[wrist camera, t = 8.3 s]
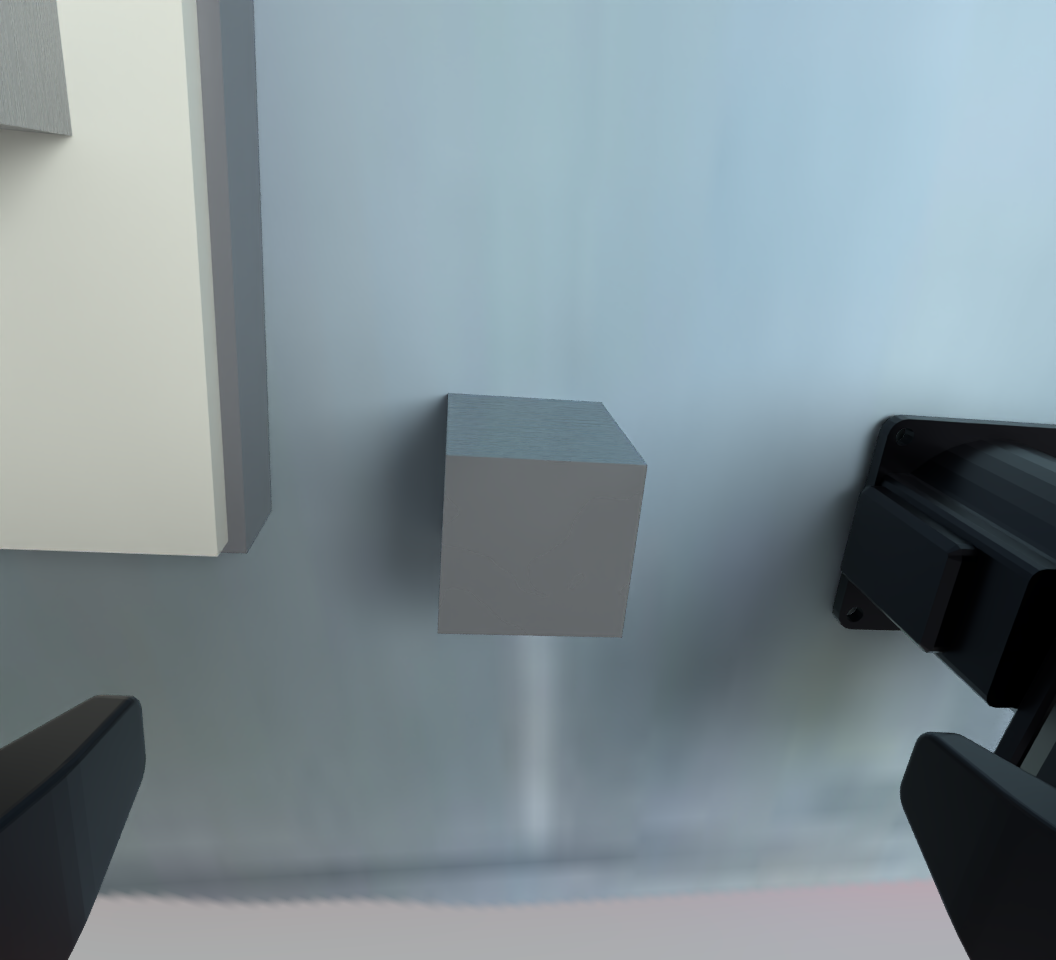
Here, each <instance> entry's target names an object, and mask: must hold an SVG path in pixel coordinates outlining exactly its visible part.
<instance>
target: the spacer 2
mask: <svg viewBox="0 0 1056 960" xmlns="http://www.w3.org/2000/svg"><path fill="white" fill-rule="evenodd" d="M646 471H647V464H646V463H645V461H644V460H643V459H642V457H641V456H640V454H639V453H638V452H637V450H636V449H635V448H634V446H633V445H632V444H631V442H630V441H629V439H628V438H627V437H626V435H625V434H624V433H623V431H622V430H621V429H620V427H619V426H618V424H617V423H616V422H615V420H614V419H613V418H612V416H611V415H610V414H609V412H608V411H607V409H606V408H605V407H604V405H603V404H602V403H601V402H589V401H572V400H555V399H538V398H521V397H504V396H487V395H470V394H453V393H448V413H447V434H446V455H445V476H444V498H443V519H442V541H441V565H440V589H439V613H438V633H441V634H487V635H533V636H580V637H622V632H623V626H624V619H625V612H626V605H627V599H628V592H629V585H630V579H631V572H632V565H633V558H634V552H635V545H636V538H637V532H638V525H639V518H640V511H641V505H642V498H643V491H644V485H645V478H646Z"/></svg>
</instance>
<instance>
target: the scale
mask: <svg viewBox="0 0 1056 960" xmlns="http://www.w3.org/2000/svg"><path fill="white" fill-rule="evenodd" d="M56 2H57V10H58V19H59V27H60V36H61V44H62V52H63V61H64V69H65V78H66V86H67V95H68V103H69V112H70V120H71V128H72V136H67V135H57V134H46V133H36V132H26V131H15V130H5V129H0V549H19V550H47V551H75V552H103V553H131V554H158V555H186V556H214V557H218V555H219V554H220V552H224V553H247V552H248V550H249V549H250V547H251V545H252V544H253V542H254V540H255V538H256V537H257V535H258V533H259V532H260V530H261V528H262V527H263V525H264V523H265V522H266V520H267V518H268V516H269V515H270V513H271V511H272V508H271V480H270V452H269V424H268V396H267V369H266V341H265V313H264V285H263V257H262V229H261V201H260V173H259V145H258V117H257V89H256V62H255V34H254V6H253V0H56Z"/></svg>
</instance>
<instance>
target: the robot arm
mask: <svg viewBox="0 0 1056 960" xmlns="http://www.w3.org/2000/svg"><path fill="white" fill-rule="evenodd" d="M903 428H905V435H904V436H903V438H902V439H900V440H899V441H896V435H897V433H898V432H899V431H900V430H901V429H903ZM841 571H842V574H841V578H840V582H839V585H838V589H837V593H836V597H835V601H834V604H833V612H832V613H833V615H834V617H835V618H836V620H837V621H838V622H839V623H840V624H841V625H842V626H844V627H845V628H848V629H864V630H901V631H903V632H904V633H905V634H906V635H907V636H908V637H909V638H910V639H911V640H912V641H913V642H914V643H915V644H916V645H917V646H918V647H919V648H920V649H922V650H923V651H925V652H926V653H934V654H935V655H936V656H937V657H938V658H939V659H940V660H941V661H942V662H943V663H944V664H945V665H946V666H947V667H949V668H950V669H951V670H952V671H953V672H954V673H955V674H956V675H957V676H958V677H959V678H960V679H961V680H962V681H963V682H965V683H966V684H967V685H968V686H969V687H970V688H971V689H972V690H973V691H974V692H975V693H976V694H977V695H978V696H979V697H980V698H982V699H983V700H984V701H985V702H986V703H987V704H988V705H989V706H991V707H995V708H1010V709H1011V710H1012V711H1013V712H1014V713H1015V714H1014V716H1013V718H1012V720H1011V721H1010V723H1009V725H1008V727H1007V729H1006V731H1005V733H1004V734H1003V736H1002V738H1001V740H1000V742H999V744H998V746H997V748H996V749H995V751H994V753H992V752H990V751H989V750H987V749H985V748H983V747H982V746H980V745H978V744H976V743H974V742H973V741H971V740H969V739H967V738H965V737H964V736H962V735H959V734H955V733H942V732H926V733H923V734H922V735H921V736H920V737H919V738H918V739H917V741H916V743H915V746H914V749H913V751H912V754H911V757H910V760H909V762H908V765H907V768H906V771H905V774H904V776H903V779H902V782H901V786H900V798H901V803H902V807H903V810H904V812H905V814H906V817H907V819H908V821H909V824H910V826H911V828H912V831H913V833H914V835H915V838H916V840H917V842H918V845H919V847H920V849H921V852H922V854H923V856H924V859H925V861H926V864H927V866H928V868H929V871H930V873H931V875H932V878H933V880H934V882H935V885H936V887H937V889H938V892H939V894H940V896H941V899H942V901H943V903H944V906H945V908H946V910H947V913H948V915H949V917H950V919H951V922H952V924H953V926H954V928H955V930H956V932H957V935H958V937H959V939H960V941H961V943H962V945H963V947H964V949H965V951H966V952H967V955H968V957H969V958H970V960H1056V425H1049V424H1034V423H1018V422H1003V421H987V420H972V419H956V418H941V417H926V416H910V415H897V416H893V417H891V418H889V419H888V420H887V421H886V422H885V423H884V424H883V425H882V427H881V429H880V431H879V435H878V439H877V443H876V446H875V450H874V454H873V458H872V461H871V465H870V469H869V473H868V476H867V480H866V484H865V488H864V490H863V491H862V492H861V493H860V496H859V500H858V504H857V507H856V511H855V515H854V519H853V522H852V526H851V530H850V534H849V538H848V541H847V545H846V549H845V553H844V557H843V560H842V564H841ZM854 607H857V608H856V610H855V611H854V612H853V613H852V614H849V615H847V613H848V612H849V610H851V609H852V608H854ZM145 762H146V754H145V742H144V731H143V719H142V708H141V705H140V702H139V700H138V699H136V698H135V697H134V696H122V695H97V696H94V697H92V698H90V699H88V700H86V701H84V702H83V703H81V704H79V705H77V706H75V707H74V708H72V709H70V710H68V711H67V712H65V713H63V714H61V715H60V716H58V717H56V718H54V719H52V720H51V721H49V722H47V723H45V724H44V725H42V726H40V727H38V728H36V729H35V730H33V731H31V732H29V733H28V734H26V735H24V736H22V737H20V738H19V739H17V740H15V741H13V742H12V743H10V744H8V745H6V746H4V747H3V748H1V749H0V960H68V958H69V956H70V954H71V952H72V951H73V949H74V946H75V944H76V942H77V940H78V938H79V936H80V934H81V932H82V930H83V928H84V926H85V924H86V921H87V919H88V916H89V914H90V912H91V909H92V907H93V905H94V902H95V900H96V897H97V895H98V892H99V890H100V887H101V884H102V882H103V879H104V877H105V874H106V872H107V869H108V866H109V864H110V861H111V859H112V856H113V854H114V851H115V848H116V846H117V843H118V841H119V838H120V836H121V833H122V830H123V828H124V825H125V823H126V820H127V818H128V815H129V812H130V810H131V807H132V805H133V802H134V800H135V797H136V794H137V792H138V789H139V787H140V784H141V781H142V778H143V774H144V770H145Z"/></svg>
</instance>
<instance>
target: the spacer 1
mask: <svg viewBox="0 0 1056 960" xmlns="http://www.w3.org/2000/svg"><path fill="white" fill-rule="evenodd" d="M0 129H5V130H15V131H26V132H36V133H46V134H57V135H67V136H72V128H71V120H70V112H69V103H68V95H67V86H66V78H65V69H64V61H63V52H62V44H61V36H60V27H59V19H58V10H57V2H56V0H0Z"/></svg>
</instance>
